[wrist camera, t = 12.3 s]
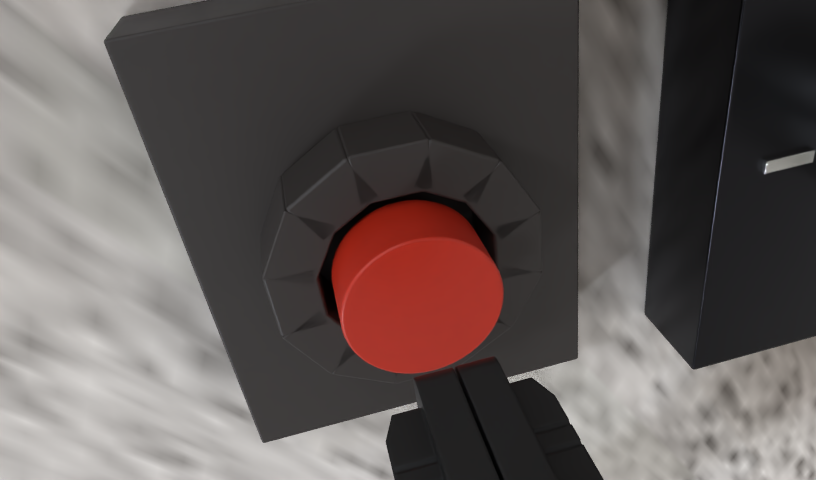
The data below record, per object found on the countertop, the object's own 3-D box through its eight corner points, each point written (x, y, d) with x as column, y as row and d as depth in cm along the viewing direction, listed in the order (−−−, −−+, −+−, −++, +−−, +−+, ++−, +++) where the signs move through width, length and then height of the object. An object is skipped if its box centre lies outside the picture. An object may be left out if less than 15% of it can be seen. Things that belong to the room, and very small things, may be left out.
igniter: (120, 16, 14) (82, 65, 11) (539, -65, 15) (621, -42, 12) (260, 392, 21) (264, 495, 18) (550, 316, 22) (605, 399, 19)
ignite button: (315, 219, 14) (324, 262, 12) (473, 182, 14) (499, 220, 13) (347, 342, 16) (357, 391, 14) (485, 307, 16) (509, 351, 15)
